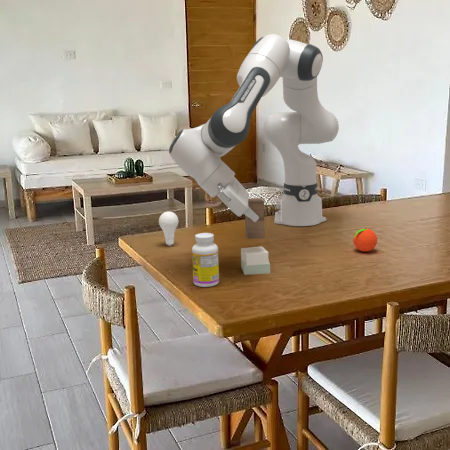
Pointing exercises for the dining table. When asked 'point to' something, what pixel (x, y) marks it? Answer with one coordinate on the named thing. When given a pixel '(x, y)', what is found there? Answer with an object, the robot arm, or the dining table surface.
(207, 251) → the supplement bottle
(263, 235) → the walnut post
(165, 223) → the lightbulb
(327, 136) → the robot arm
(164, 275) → the dining table surface
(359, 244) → the clementine
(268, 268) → the tower base
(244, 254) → the tower cap
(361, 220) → the dining table surface
